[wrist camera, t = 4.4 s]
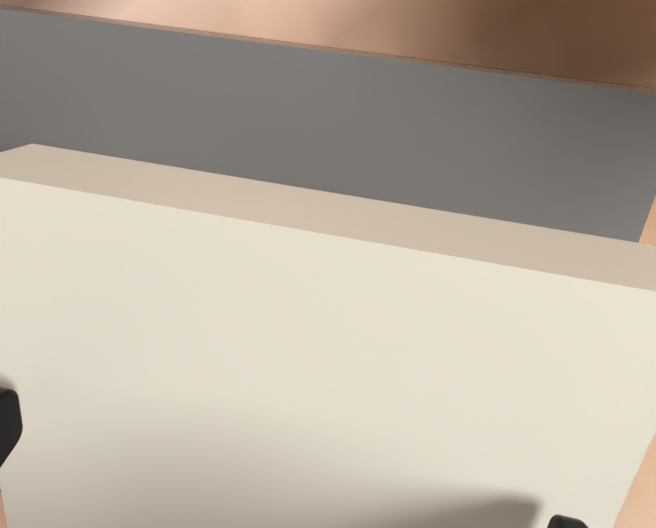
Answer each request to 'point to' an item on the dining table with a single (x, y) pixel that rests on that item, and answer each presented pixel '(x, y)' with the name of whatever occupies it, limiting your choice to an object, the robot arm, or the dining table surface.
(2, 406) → the robot arm
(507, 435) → the cream rectangular block
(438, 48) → the dining table surface
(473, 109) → the key panel
